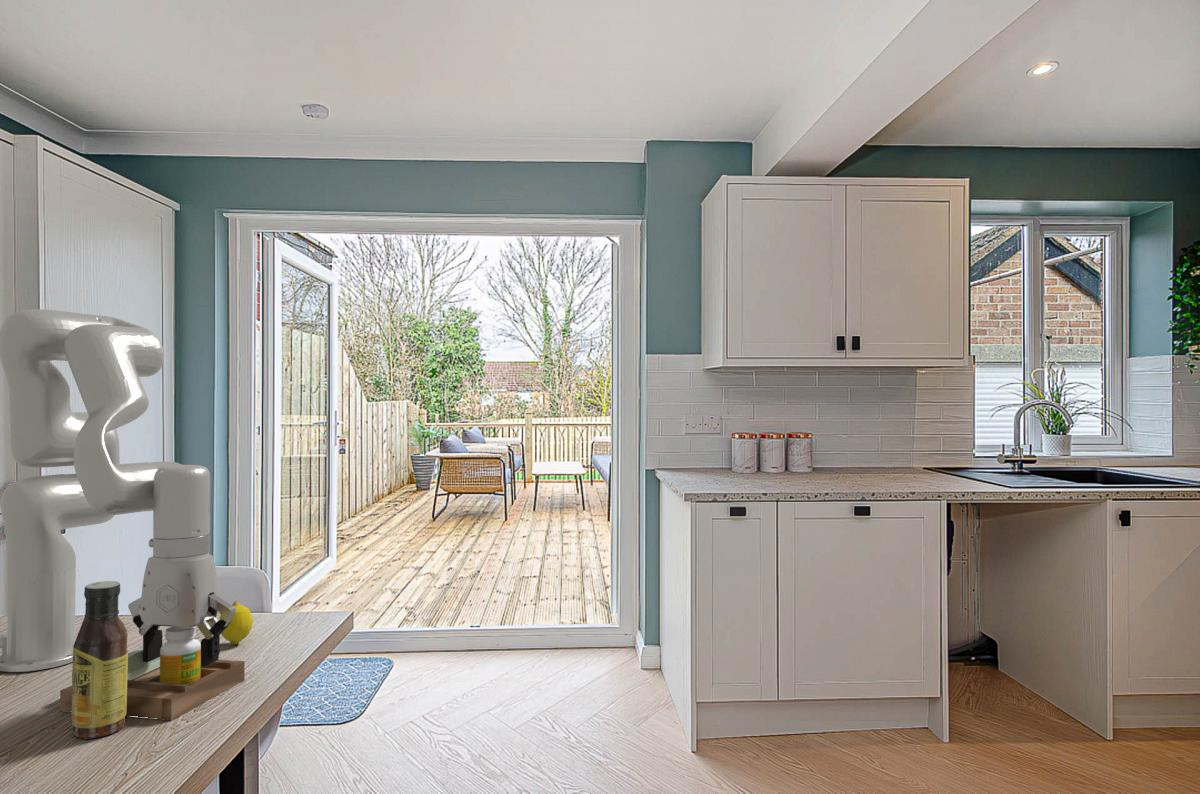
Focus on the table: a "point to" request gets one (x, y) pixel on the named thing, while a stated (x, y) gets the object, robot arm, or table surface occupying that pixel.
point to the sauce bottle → (100, 665)
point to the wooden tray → (173, 691)
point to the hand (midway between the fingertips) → (181, 661)
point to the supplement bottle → (180, 656)
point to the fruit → (238, 624)
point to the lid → (140, 664)
